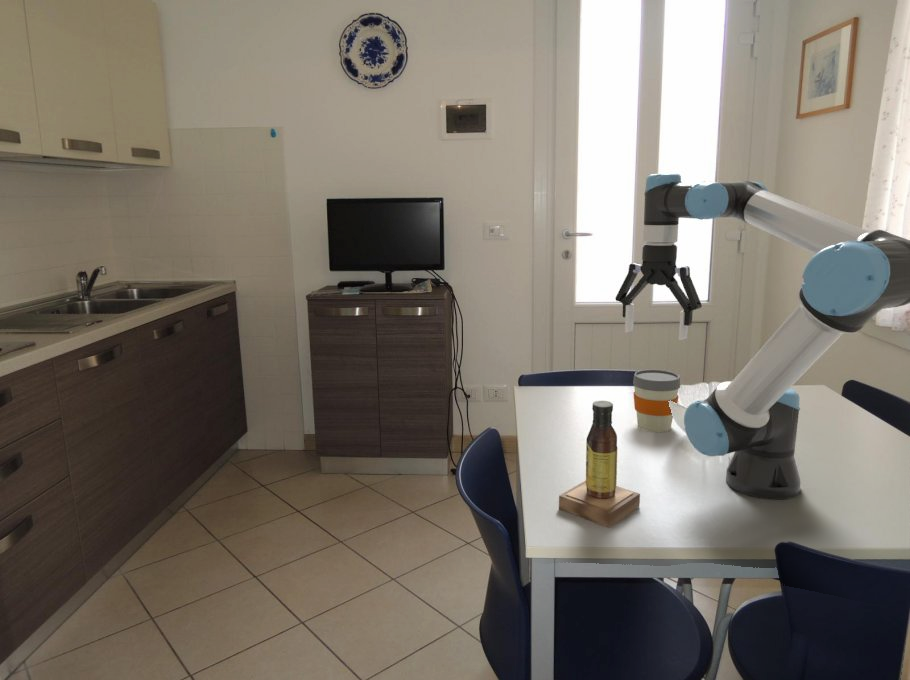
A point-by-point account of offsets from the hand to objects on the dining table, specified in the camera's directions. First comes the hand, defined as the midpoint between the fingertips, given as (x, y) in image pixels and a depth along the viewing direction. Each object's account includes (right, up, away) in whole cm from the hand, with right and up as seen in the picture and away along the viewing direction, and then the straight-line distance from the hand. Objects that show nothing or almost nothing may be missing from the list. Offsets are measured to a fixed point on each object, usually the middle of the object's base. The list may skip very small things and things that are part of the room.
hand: (655, 335), depth 157 cm
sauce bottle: (-17, -33, -17) cm, 41 cm away
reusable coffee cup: (+9, -26, +31) cm, 41 cm away
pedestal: (-17, -36, -16) cm, 43 cm away
